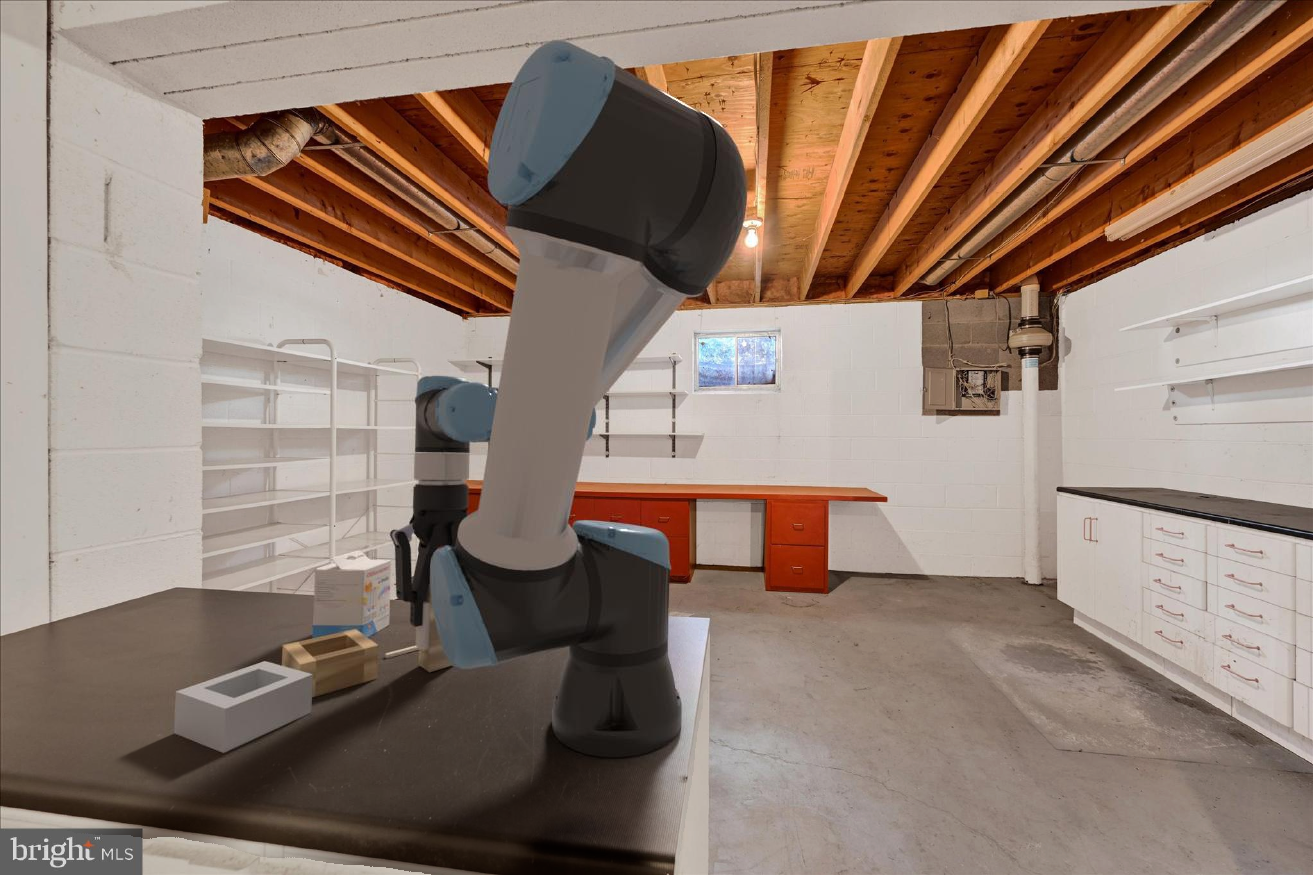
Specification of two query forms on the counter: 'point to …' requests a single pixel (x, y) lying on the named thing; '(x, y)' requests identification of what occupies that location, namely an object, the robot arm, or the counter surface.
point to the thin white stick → (401, 651)
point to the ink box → (351, 595)
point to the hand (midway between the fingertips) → (437, 643)
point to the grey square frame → (242, 705)
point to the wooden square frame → (334, 660)
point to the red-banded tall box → (433, 644)
